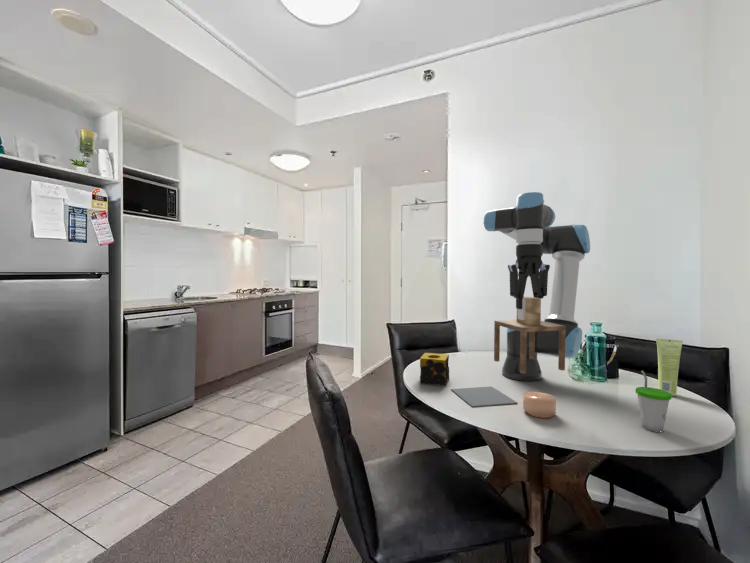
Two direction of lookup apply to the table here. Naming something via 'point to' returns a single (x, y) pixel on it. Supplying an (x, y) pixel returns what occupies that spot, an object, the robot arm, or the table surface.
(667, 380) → the tube
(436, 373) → the candle
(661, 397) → the cup
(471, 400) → the mat
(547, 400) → the peach rounded disc
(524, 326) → the wooden side table
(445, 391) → the table surface
